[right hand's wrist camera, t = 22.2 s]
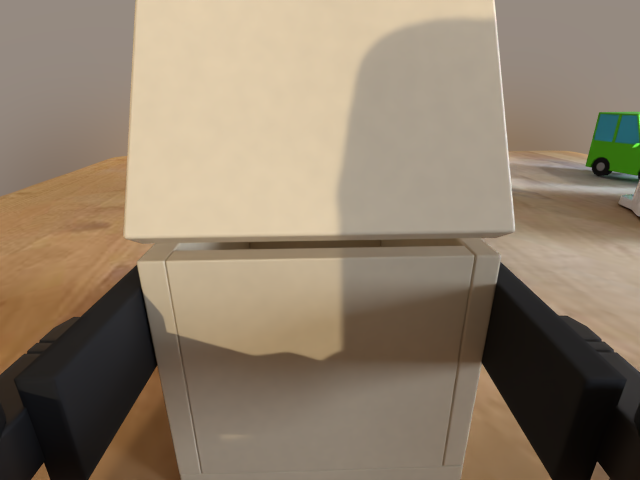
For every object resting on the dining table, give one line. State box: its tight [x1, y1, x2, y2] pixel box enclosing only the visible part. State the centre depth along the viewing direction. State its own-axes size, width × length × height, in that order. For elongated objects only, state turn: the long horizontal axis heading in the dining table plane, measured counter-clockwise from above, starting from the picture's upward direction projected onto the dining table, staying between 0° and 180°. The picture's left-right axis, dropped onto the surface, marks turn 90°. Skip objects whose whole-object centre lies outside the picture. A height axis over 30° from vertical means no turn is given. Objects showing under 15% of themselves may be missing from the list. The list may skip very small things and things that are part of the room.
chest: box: [137, 238, 501, 480], centre depth 18 cm, size 14×10×9 cm
